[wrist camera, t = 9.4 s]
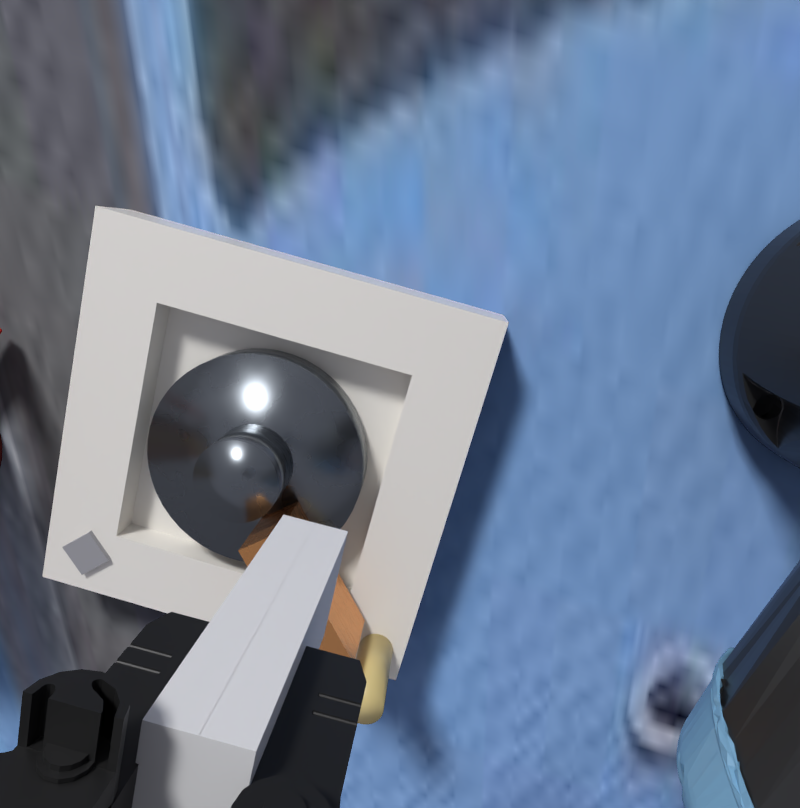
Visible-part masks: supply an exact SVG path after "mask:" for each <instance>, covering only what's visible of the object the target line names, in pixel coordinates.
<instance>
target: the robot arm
mask: <svg viewBox="0 0 800 808" xmlns="http://www.w3.org/2000/svg"><path fill="white" fill-rule="evenodd" d="M719 363H720V371H721V377H722V382H723V385H724V389H725V392H726V395H727V397H728V400H729V402H730V404H731V406H732V408H733V410H734V412H735V413H736V415H737V417H738V418H739V420H740V421H741V422H742V424H743V425H744V426H745V428H746V429H747V430H748V431H749V432H750V433H751V434H752V435H753V436H754V437H755V438H756V439H757V440H758V441H759V442H761V443H762V444H763V445H764V446H766V447H767V448H768V449H770V450H771V451H773V452H774V453H776V454H777V455H779V456H780V457H782V458H784V459H785V460H787V461H788V462H790V463H792V464H793V465H795V466H797V467H799V468H800V220H799V221H797V222H796V223H794V224H793V225H791V226H790V227H788V228H787V229H786V230H784V231H783V232H782V233H781V234H779V235H778V236H777V237H776V238H775V239H774V240H772V241H771V242H770V243H769V244H768V245H767V246H766V247H765V248H764V249H763V250H762V251H761V252H760V253H759V255H758V256H757V257H756V258H755V259H754V261H753V262H752V263H751V265H750V266H749V267H748V269H747V270H746V271H745V273H744V275H743V276H742V278H741V279H740V281H739V283H738V285H737V287H736V288H735V290H734V292H733V295H732V297H731V299H730V301H729V304H728V307H727V310H726V313H725V316H724V320H723V324H722V329H721V335H720V344H719ZM347 534H348V531H345V530H341V529H337V528H333V527H329V526H325V525H322V524H318V523H314V522H310V521H306V520H303V519H299V518H295V517H291V516H287V515H283V516H282V518H281V519H280V520H279V522H278V523H277V525H276V526H275V528H274V529H273V531H272V532H271V534H270V535H269V536H268V538H267V539H266V541H265V542H264V544H263V545H262V547H261V548H260V550H259V551H258V552H257V554H256V555H255V557H254V558H253V560H252V561H251V563H250V564H249V566H248V567H247V568H246V570H245V571H244V573H243V574H242V576H241V577H240V579H239V580H238V582H237V583H236V584H235V586H234V587H233V589H232V590H231V592H230V593H229V595H228V596H227V597H226V599H225V600H224V602H223V603H222V605H221V606H220V608H219V609H218V611H217V612H216V613H215V615H214V616H213V618H212V619H211V621H210V622H208V621H204V620H201V619H197V618H193V617H190V616H186V615H182V614H178V613H175V612H170V613H168V614H166V615H164V616H162V617H160V618H158V619H156V620H155V621H153V622H151V623H149V624H147V625H146V626H145V627H144V629H143V630H142V631H141V632H140V633H139V634H138V636H137V637H136V638H135V639H134V640H133V641H132V643H131V645H130V647H127V649H126V650H125V651H124V652H123V653H122V654H121V656H120V657H119V658H118V660H117V662H116V663H114V664H113V665H112V666H111V667H110V669H109V670H108V671H107V672H106V673H103V672H98V671H90V670H82V669H81V670H73V671H65V672H59V673H56V674H54V675H51V676H48V677H45V678H43V679H40V680H38V681H37V682H36V683H34V684H33V685H31V686H30V687H29V688H27V689H26V690H24V691H23V696H22V706H21V716H20V726H19V735H18V745H17V747H16V748H15V749H14V750H13V751H9V752H5V753H0V808H340V797H341V792H342V788H343V784H344V779H345V775H346V771H347V766H348V762H349V757H350V753H351V749H352V744H353V740H354V736H355V731H356V727H357V722H358V718H359V714H360V709H361V705H362V701H363V696H364V692H365V688H366V683H367V681H366V678H365V675H364V672H363V669H362V665H361V662H360V660H357V659H353V658H350V657H346V656H342V655H338V654H335V653H331V652H327V651H324V650H320V649H319V648H320V645H321V642H322V640H323V637H324V633H325V629H326V625H327V620H328V616H329V612H330V607H331V603H332V599H333V594H334V590H335V586H336V582H337V577H338V573H339V569H340V564H341V560H342V556H343V551H344V547H345V543H346V538H347ZM677 768H678V775H679V779H680V782H681V785H682V788H683V789H682V799H683V804H684V807H685V808H800V561H799V562H798V563H797V565H796V566H795V567H794V569H793V570H792V571H791V573H790V574H789V575H788V577H787V578H786V580H785V581H784V582H783V584H782V585H781V586H780V588H779V589H778V590H777V592H776V593H775V594H774V596H773V597H772V598H771V600H770V601H769V602H768V604H767V605H766V606H765V608H764V609H763V610H762V612H761V613H760V615H759V616H758V617H757V619H756V620H755V621H754V623H753V624H752V625H751V627H750V628H749V629H748V631H747V632H746V633H745V635H744V636H743V637H742V639H741V640H740V641H739V643H738V644H737V645H736V647H735V648H729V649H728V650H727V651H726V652H725V653H724V654H723V655H722V656H721V657H720V659H719V661H718V662H717V664H716V666H715V670H714V673H713V677H712V680H711V682H710V683H709V685H708V687H707V688H706V690H705V691H704V693H703V694H702V696H701V698H700V699H699V701H698V702H697V704H696V705H695V707H694V709H693V710H692V712H691V713H690V715H689V716H688V718H687V719H686V721H685V723H684V725H683V727H682V730H681V733H680V736H679V740H678V747H677Z"/></svg>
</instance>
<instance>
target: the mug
mask: <svg viewBox="0 0 800 808" xmlns="http://www.w3.org/2000/svg"><path fill="white" fill-rule="evenodd" d="M1 332H2V330H1V329H0V334H1ZM1 461H2V440H1V435H0V466H1Z"/></svg>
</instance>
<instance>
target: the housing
mask: <svg viewBox="0 0 800 808" xmlns="http://www.w3.org/2000/svg"><path fill="white" fill-rule="evenodd" d="M508 323H509V322H508V321H507V319H506V318H505V316H504V315H502V314H498V313H495V312H491V311H488V310H484V309H481V308H477V307H474V306H470V305H467V304H463V303H459V302H456V301H452V300H449V299H445V298H442V297H438V296H435V295H431V294H428V293H424V292H421V291H417V290H413V289H410V288H406V287H403V286H399V285H396V284H392V283H389V282H385V281H382V280H378V279H375V278H371V277H368V276H364V275H360V274H357V273H353V272H350V271H346V270H343V269H339V268H336V267H332V266H329V265H325V264H322V263H318V262H314V261H311V260H307V259H304V258H300V257H297V256H293V255H290V254H286V253H283V252H279V251H276V250H272V249H269V248H265V247H261V246H258V245H254V244H251V243H247V242H244V241H240V240H237V239H233V238H230V237H226V236H223V235H219V234H215V233H212V232H208V231H205V230H201V229H198V228H194V227H191V226H187V225H184V224H180V223H177V222H173V221H170V220H166V219H162V218H159V217H155V216H152V215H148V214H145V213H141V212H138V211H134V210H129V209H120V208H111V207H102V206H96V207H95V214H94V221H93V227H92V234H91V241H90V248H89V255H88V262H87V269H86V276H85V283H84V290H83V297H82V304H81V311H80V318H79V325H78V332H77V339H76V346H75V353H74V360H73V367H72V374H71V381H70V388H69V395H68V401H67V408H66V415H65V422H64V429H63V436H62V443H61V450H60V457H59V464H58V471H57V478H56V485H55V492H54V499H53V506H52V513H51V520H50V527H49V534H48V541H47V548H46V555H45V562H44V569H43V575H42V577H45V578H49V579H52V580H56V581H59V582H62V583H66V584H69V585H73V586H76V587H79V588H83V589H86V590H90V591H93V592H96V593H100V594H103V595H107V596H110V597H113V598H117V599H120V600H124V601H127V602H130V603H134V604H137V605H141V606H144V607H147V608H151V609H154V610H158V611H161V612H164V613H170V612H175V613H178V614H182V615H186V616H190V617H193V618H197V619H201V620H204V621H208V622H210V621H211V619H212V618H213V616H214V615H215V613H216V612H217V611H218V609H219V608H220V606H221V605H222V603H223V602H224V600H225V599H226V597H227V596H228V595H229V593H230V592H231V590H232V589H233V587H234V586H235V584H236V583H237V582H238V580H239V579H240V577H241V576H242V574H243V573H244V571H245V570H246V568H247V565H246V564H245V562H243V561H238V560H235V559H231V558H228V557H225V556H222V555H220V554H218V553H215V552H213V551H211V550H209V549H208V548H206V547H204V546H202V545H201V544H199V543H198V542H196V541H195V540H194V539H192V538H191V537H190V536H188V535H187V534H186V533H185V532H184V531H183V530H182V529H181V528H180V527H179V526H178V525H177V524H176V523H175V522H174V520H173V519H172V518H171V517H170V515H169V514H168V512H167V511H166V510H165V508H164V507H163V505H162V503H161V501H160V499H159V497H158V495H157V493H156V491H155V488H154V485H153V483H152V480H151V475H150V471H149V467H148V457H147V444H148V435H149V429H150V425H151V422H152V419H153V416H154V413H155V411H156V409H157V407H158V405H159V403H160V401H161V400H162V398H163V397H164V395H165V394H166V392H167V391H168V390H169V389H170V387H171V386H172V385H173V384H174V383H175V382H176V381H177V380H178V379H179V378H181V377H182V376H183V375H184V374H186V373H187V372H188V371H190V370H192V369H193V368H195V367H197V366H198V365H200V364H203V363H205V362H207V361H209V360H211V359H213V358H216V357H218V356H220V355H223V354H225V353H229V352H233V351H237V350H243V349H251V348H257V349H272V350H279V351H283V352H286V353H290V354H293V355H296V356H298V357H300V358H303V359H305V360H307V361H309V362H311V363H312V364H314V365H316V366H318V367H319V368H320V369H322V370H323V371H324V372H326V373H327V374H328V375H330V376H331V377H332V378H333V379H334V380H335V381H336V382H337V383H338V384H339V385H340V386H341V388H342V389H343V390H344V391H345V393H346V394H347V395H348V396H349V398H350V400H351V401H352V403H353V405H354V406H355V408H356V410H357V412H358V414H359V417H360V419H361V421H362V425H363V428H364V431H365V435H366V442H367V456H368V461H367V470H366V475H365V479H364V483H363V486H362V489H361V492H360V494H359V497H358V499H357V502H356V504H355V506H354V509H353V511H352V513H351V514H350V516H349V518H348V519H347V521H346V523H345V524H344V525H343V526H342V528H341V530H345V531H348V534H347V538H346V543H345V547H344V551H343V556H342V560H341V564H340V569H339V575H340V577H341V579H342V580H343V582H344V584H345V586H346V588H347V589H348V591H349V593H350V595H351V597H352V598H353V600H354V602H355V604H356V606H357V607H358V609H359V611H360V613H361V615H362V616H363V618H364V620H365V622H364V626H363V630H362V634H361V638H360V642H359V646H358V650H357V654H356V658H355V659H357V660H360V662H361V665H362V669H363V672H364V675H365V678H366V681H367V683H366V688H365V692H364V696H363V701H362V705H361V709H360V714H359V718H358V722H357V723H360V724H372V723H374V722H376V721H378V720H379V719H380V717H381V716H382V714H383V710H384V703H385V697H386V691H387V684H388V678H389V679H393V680H396V678H397V675H398V672H399V669H400V666H401V662H402V659H403V656H404V653H405V650H406V647H407V643H408V640H409V637H410V634H411V631H412V628H413V624H414V621H415V618H416V615H417V612H418V609H419V605H420V602H421V599H422V596H423V593H424V590H425V586H426V583H427V580H428V577H429V574H430V570H431V567H432V564H433V561H434V558H435V555H436V551H437V548H438V545H439V542H440V539H441V536H442V532H443V529H444V526H445V523H446V520H447V517H448V513H449V510H450V507H451V504H452V501H453V498H454V494H455V491H456V488H457V485H458V482H459V479H460V475H461V472H462V469H463V466H464V463H465V460H466V456H467V453H468V450H469V447H470V444H471V441H472V437H473V434H474V431H475V428H476V425H477V422H478V418H479V415H480V412H481V409H482V406H483V403H484V399H485V396H486V393H487V390H488V387H489V384H490V380H491V377H492V374H493V371H494V368H495V365H496V361H497V358H498V355H499V352H500V349H501V345H502V342H503V339H504V336H505V333H506V330H507V326H508Z"/></svg>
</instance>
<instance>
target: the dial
mask: <svg viewBox="0 0 800 808" xmlns="http://www.w3.org/2000/svg"><path fill="white" fill-rule="evenodd" d="M147 457H148V467H149V471H150V475H151V480H152V483H153V485H154V488H155V491H156V493H157V495H158V497H159V499H160V501H161V503H162V505H163V507H164V508H165V510H166V511H167V512H168V514H169V515H170V517H171V518H172V519H173V520H174V522H175V523H176V524H177V525H178V526H179V527H180V528H181V529H182V530H183V531H184V532H185V533H186V534H187V535H188V536H190V537H191V538H192V539H194V540H195V541H196V542H198V543H199V544H201V545H202V546H204V547H206V548H208V549H209V550H211V551H213V552H215V553H218V554H220V555H222V556H225V557H228V558H231V559H235V560H238V561H243V562H245V564H246V565H247V567H248V566H249V564H250V563H251V561H252V560H253V558H254V557H255V555H256V554H257V552H258V551H259V550H260V548H261V547H262V545H263V544H264V542H265V541H266V539H267V538H268V536H269V535H270V534H271V532H272V531H273V529H274V528H275V526H276V525H277V523H278V522H279V520H280V519H281V518H282V516H283V515H287V516H291V517H295V518H299V519H303V520H306V521H310V522H314V523H318V524H322V525H325V526H329V527H333V528H337V529H341V528H342V526H343V525H344V524H345V523H346V521H347V519H348V518H349V516H350V514H351V513H352V511H353V509H354V506H355V504H356V502H357V499H358V497H359V494H360V492H361V489H362V486H363V483H364V479H365V475H366V470H367V461H368V456H367V442H366V435H365V431H364V428H363V425H362V421H361V419H360V417H359V414H358V412H357V410H356V408H355V406H354V405H353V403H352V401H351V400H350V398H349V396H348V395H347V394H346V393H345V391H344V390H343V389H342V388H341V386H340V385H339V384H338V383H337V382H336V381H335V380H334V379H333V378H332V377H331V376H330V375H328V374H327V373H326V372H324V371H323V370H322V369H320V368H319V367H318V366H316V365H314V364H312V363H311V362H309V361H307V360H305V359H303V358H300V357H298V356H296V355H293V354H290V353H286V352H283V351H279V350H272V349H257V348H251V349H243V350H237V351H233V352H229V353H225V354H223V355H220V356H218V357H216V358H213V359H211V360H209V361H207V362H205V363H203V364H200V365H198V366H197V367H195V368H193V369H192V370H190V371H188V372H187V373H186V374H184V375H183V376H182V377H181V378H179V379H178V380H177V381H176V382H175V383H174V384H173V385H172V386H171V387H170V389H169V390H168V391H167V392H166V394H165V395H164V397H163V398H162V400H161V401H160V403H159V405H158V407H157V409H156V411H155V413H154V416H153V419H152V422H151V425H150V429H149V435H148V444H147ZM364 622H365V620H364V618H363V616H362V615H361V613H360V611H359V609H358V607H357V606H356V604H355V602H354V600H353V598H352V597H351V595H350V593H349V591H348V589H347V588H346V586H345V584H344V582H343V580H342V579H341V577H340V575H339V573H338V577H337V582H336V586H335V590H334V594H333V599H332V603H331V607H330V612H329V616H328V620H327V625H326V629H325V633H324V637H323V640H322V642H321V645H320V648H319V649H320V650H324V651H327V652H331V653H335V654H338V655H342V656H346V657H350V658H353V659H355V658H356V654H357V650H358V646H359V642H360V638H361V634H362V630H363V626H364Z"/></svg>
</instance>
